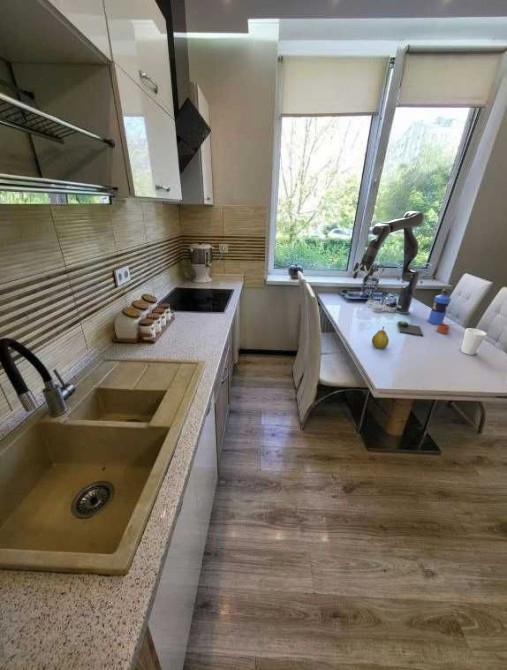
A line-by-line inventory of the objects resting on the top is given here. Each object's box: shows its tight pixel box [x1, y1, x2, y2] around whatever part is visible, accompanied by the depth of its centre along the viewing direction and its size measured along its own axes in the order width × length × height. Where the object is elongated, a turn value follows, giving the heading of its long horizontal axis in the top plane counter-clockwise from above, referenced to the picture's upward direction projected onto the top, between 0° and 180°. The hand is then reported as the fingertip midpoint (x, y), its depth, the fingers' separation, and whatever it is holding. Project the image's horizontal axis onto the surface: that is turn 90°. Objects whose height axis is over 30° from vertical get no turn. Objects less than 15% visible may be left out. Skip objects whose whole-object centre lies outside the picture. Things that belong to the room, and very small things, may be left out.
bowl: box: [436, 323, 451, 335], centre depth 183 cm, size 6×6×5 cm
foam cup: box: [461, 327, 488, 356], centre depth 156 cm, size 10×9×13 cm
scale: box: [397, 320, 423, 337], centre depth 186 cm, size 16×14×2 cm
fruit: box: [371, 326, 390, 350], centre depth 159 cm, size 9×9×12 cm
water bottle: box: [427, 288, 452, 326], centre depth 195 cm, size 9×9×25 cm
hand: (359, 279), depth 181 cm, fingers open, 8 cm apart
